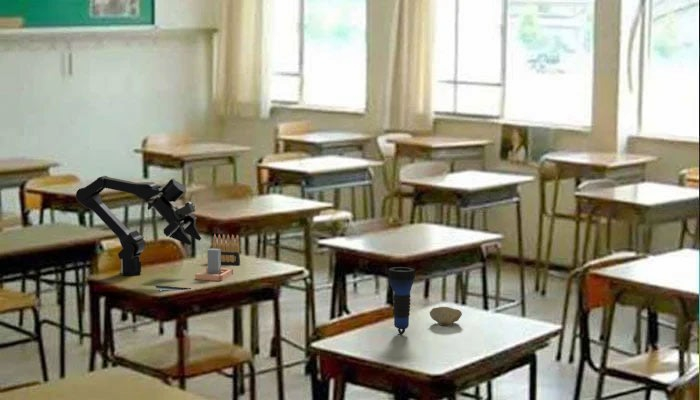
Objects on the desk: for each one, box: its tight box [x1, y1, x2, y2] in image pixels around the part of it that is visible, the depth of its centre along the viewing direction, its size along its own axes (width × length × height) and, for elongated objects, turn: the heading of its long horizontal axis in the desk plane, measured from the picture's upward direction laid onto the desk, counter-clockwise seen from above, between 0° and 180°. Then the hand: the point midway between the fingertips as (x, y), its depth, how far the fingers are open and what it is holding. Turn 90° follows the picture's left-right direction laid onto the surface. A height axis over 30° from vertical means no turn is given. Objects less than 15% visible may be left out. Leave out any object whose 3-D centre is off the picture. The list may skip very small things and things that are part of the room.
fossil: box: [429, 306, 463, 327], centre depth 362 cm, size 9×4×10 cm
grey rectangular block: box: [206, 247, 222, 275], centre depth 422 cm, size 4×3×10 cm
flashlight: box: [387, 266, 416, 335], centre depth 350 cm, size 8×8×20 cm
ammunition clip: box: [212, 233, 241, 266], centre depth 449 cm, size 11×2×12 cm, turn 84°
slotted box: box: [194, 266, 234, 282], centre depth 423 cm, size 10×12×3 cm
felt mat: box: [155, 285, 192, 292], centre depth 409 cm, size 11×9×1 cm
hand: (195, 242), depth 423 cm, fingers open, 9 cm apart
